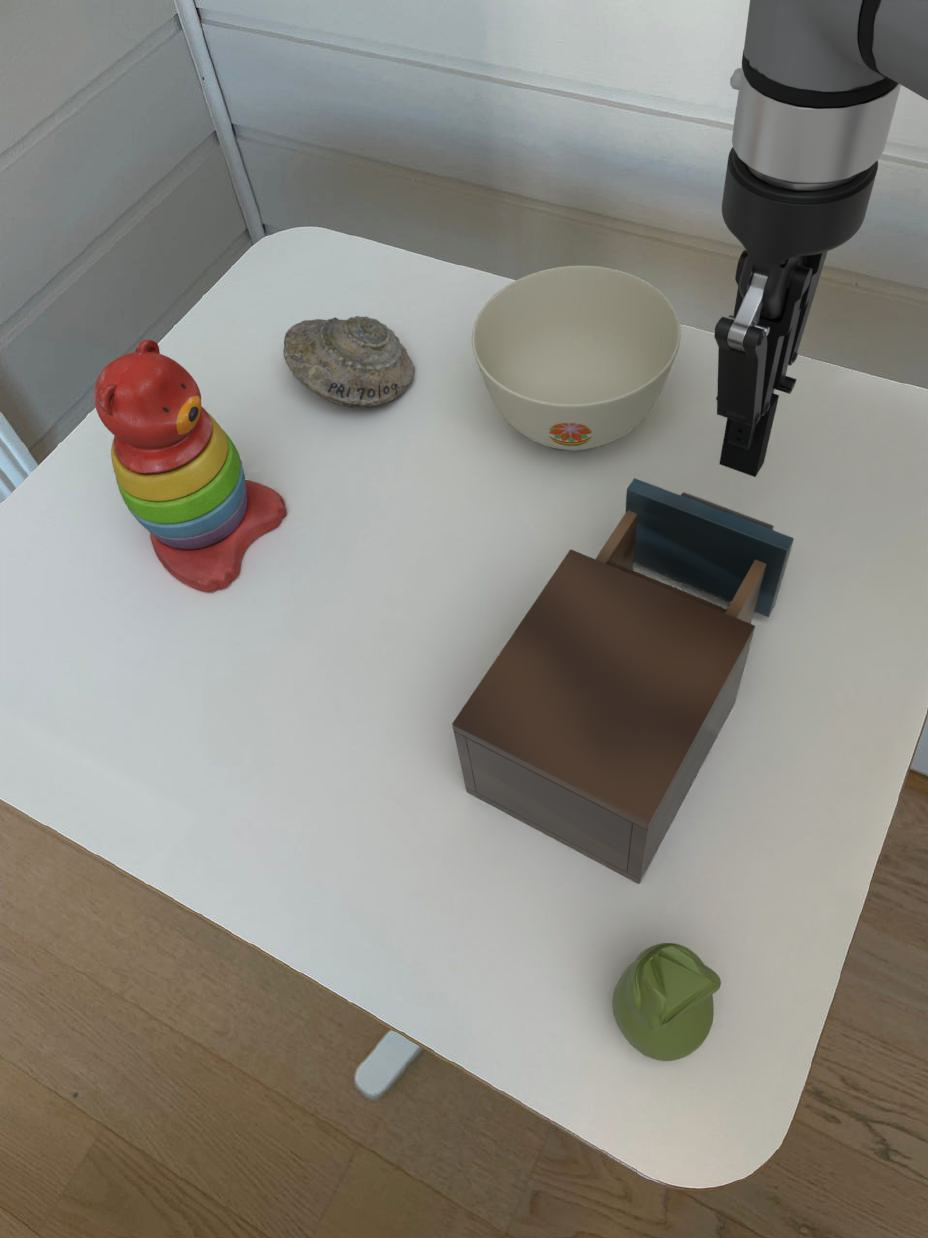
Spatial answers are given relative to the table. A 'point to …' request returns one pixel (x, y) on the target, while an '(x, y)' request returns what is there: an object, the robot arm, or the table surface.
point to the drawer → (700, 549)
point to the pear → (666, 1002)
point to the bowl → (576, 353)
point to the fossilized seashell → (348, 360)
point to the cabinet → (602, 711)
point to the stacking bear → (181, 470)
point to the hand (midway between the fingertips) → (741, 463)
